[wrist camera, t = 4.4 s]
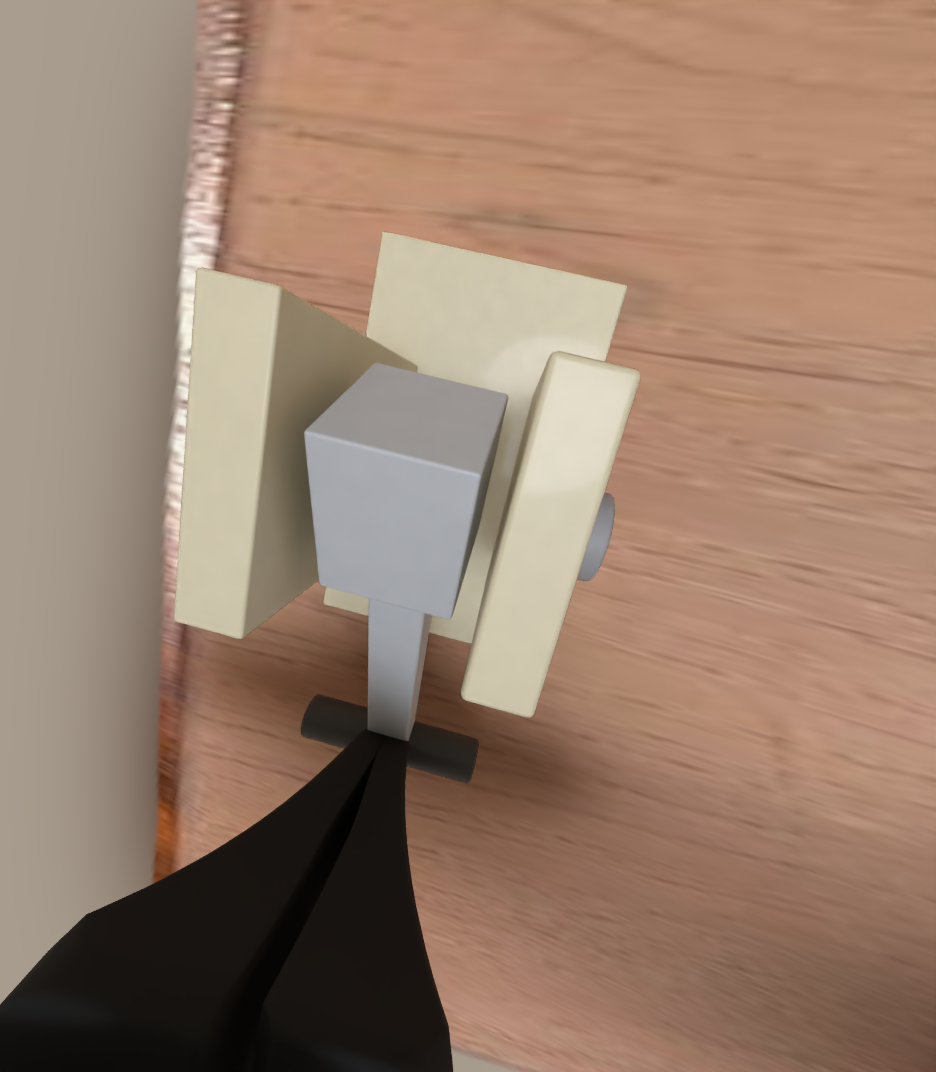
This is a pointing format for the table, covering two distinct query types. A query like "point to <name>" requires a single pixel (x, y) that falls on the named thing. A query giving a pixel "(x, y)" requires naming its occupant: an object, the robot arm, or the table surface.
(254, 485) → the bracket
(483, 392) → the lever
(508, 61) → the table surface
